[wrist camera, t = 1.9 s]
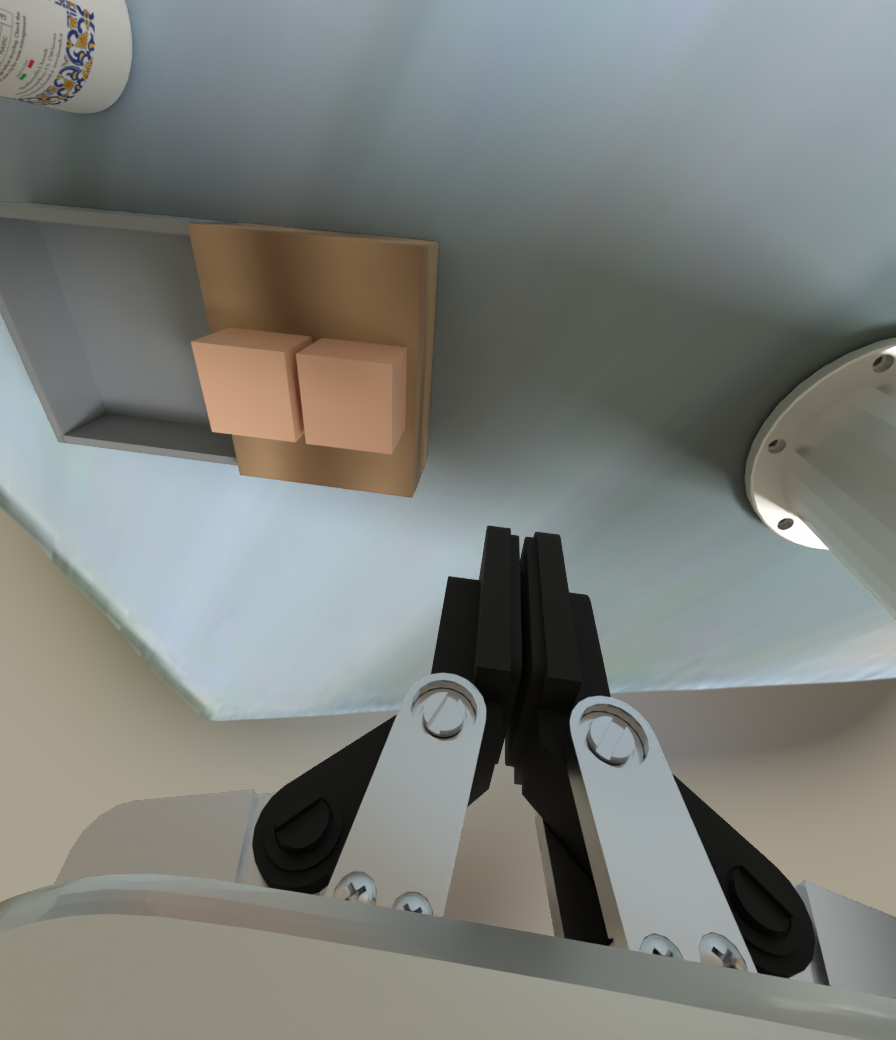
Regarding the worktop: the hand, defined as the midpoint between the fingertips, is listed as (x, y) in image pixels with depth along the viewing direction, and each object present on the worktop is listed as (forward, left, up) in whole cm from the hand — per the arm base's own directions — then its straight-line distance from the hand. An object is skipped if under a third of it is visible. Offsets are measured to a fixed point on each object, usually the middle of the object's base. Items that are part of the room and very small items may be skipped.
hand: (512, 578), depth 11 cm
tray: (+21, 0, -18) cm, 27 cm away
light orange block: (+12, 0, -13) cm, 17 cm away
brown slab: (+10, 0, -18) cm, 20 cm away
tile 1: (+7, 0, -13) cm, 15 cm away
